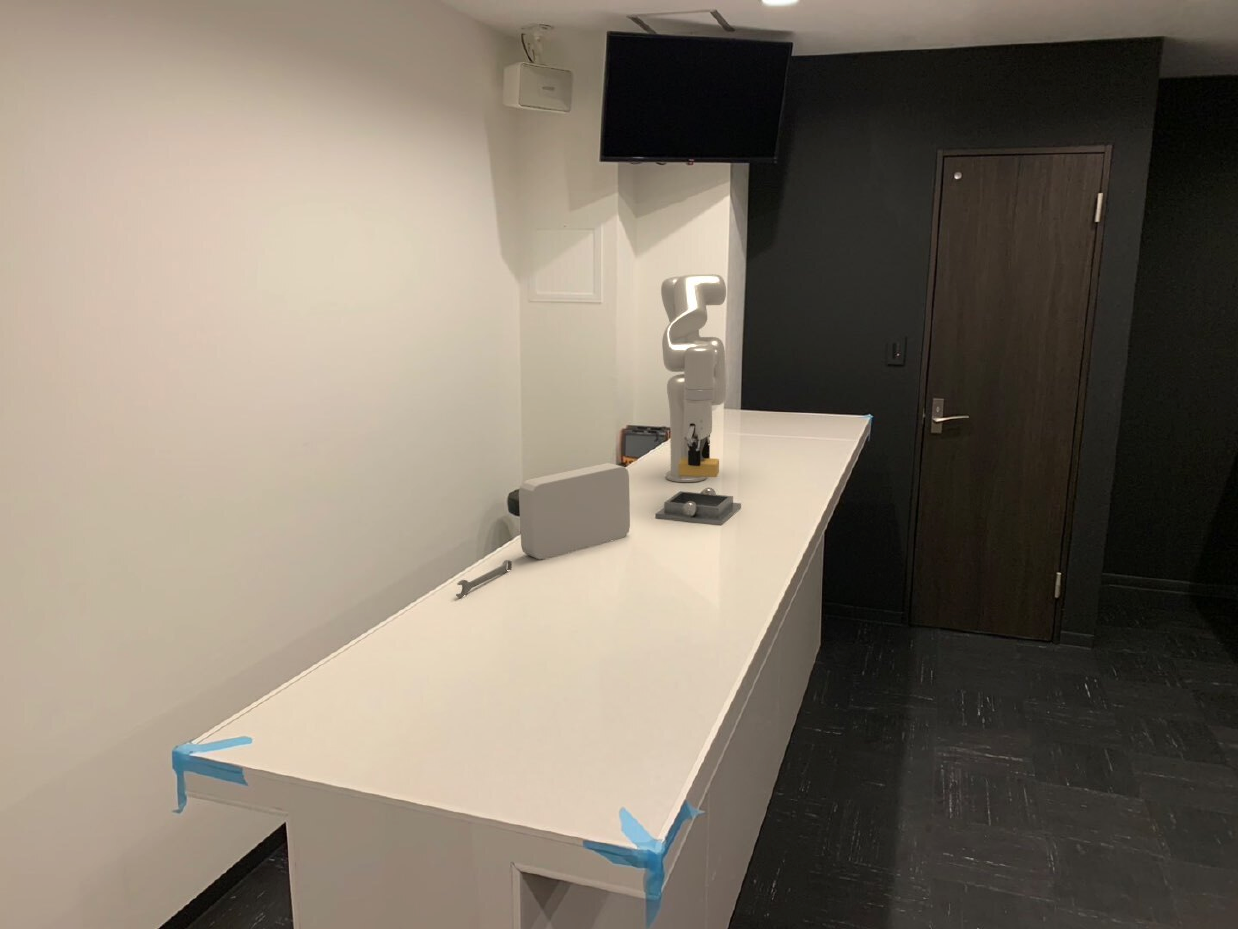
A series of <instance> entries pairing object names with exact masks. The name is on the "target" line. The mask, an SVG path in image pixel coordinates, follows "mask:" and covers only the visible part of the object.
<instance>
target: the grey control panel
mask: <svg viewBox="0 0 1238 929" xmlns="http://www.w3.org/2000/svg"><path fill="white" fill-rule="evenodd" d="M518 505H519V528H520V544H521V545H520V547H521V550H522V552H523V553H525V555H528V556H529V557H531V558H534V559H536V560H541V559H544V560H546V559H545V558H548V559H551V558H554V556H555V557H558V556H562V555H564V553H566V554H568V552H569V553H572V551H573V552H575V551H576V550H577V551H581V550H583V548H584V549H587V547H588V548H591V547H594V546H598V545H601V544H606V543H609V542H612V541H611V540H613V541H617V540H619V539H623V538H625V537H626V536H627V535H628V534H629V532H630V528H631V516H630V514H631V512H630V508H631V506H630V505H631V504H630V474H629V470H628V469H627V468H626V467H625V466H622V465H618V464H614V463H610V462H606V463H603V464H602V463H600V464H596V465H591V466H587V467H582V468H578V469H573V470H568V471H564V472H558V473H553V474H549V475H543V476H540V477H535V478H530V479H527V480H525V481H522V483H521V485H520V486H519V489H518ZM590 546H591V547H590ZM561 554H562V555H561ZM557 555H558V556H557Z"/></svg>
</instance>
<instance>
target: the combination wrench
mask: <svg viewBox="0 0 1238 929" xmlns="http://www.w3.org/2000/svg"><path fill="white" fill-rule="evenodd" d="M512 568H513V563H512V561H511V560H510V559H505V560H503V562H502V564H501V565H500V566H498V567H496V568H495V569H492V570H490V571H488V572H487V573H484V574H482V575H480V576H478V577H476V578H475V579H473V580H471V581H468V580H466V579H461V580H460V581H458V582H457V584H456V585H457V586H461V591H460V593H456V594H455V596H456V597H457V598H459V597H460V598H459V599H462V598H461V597H463V596H464V595H466V596H467V595H468V594H469V592H471V590H472V589H474V588H475V587H477V586H479V585H482V584H484V583H485V582H487V581H490V580H491V579H494V578H495V577H498V576H499V575H502V574H504V573H506V572H508V571H507V570H511V571H512ZM508 573H509V572H508ZM463 598H464V597H463Z"/></svg>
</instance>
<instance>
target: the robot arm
mask: <svg viewBox="0 0 1238 929" xmlns="http://www.w3.org/2000/svg"><path fill="white" fill-rule="evenodd" d="M660 290H661V291H660V294H661V299H662V304H663V307H664V310H665V313H666V316H667V318H668V320H669V321H668V322H669V323H668V325H667V326H666V328H665V330H664V332H663V335H662V339H661V340H662V341H661V343H662V344H661V347H662V359H663V365H664V367H665V369H666V370H668V371H669V372H672V373H678V374H675V375H673V376H671V377H670V378H669V379H668V381H667V383H666V384H667V385H666V392H667V399H668V404H669V421H670V422H669V427H670V430H669V431H670V433H669V434H670V435H669V436H670V438H669V439H670V444H669V445H670V471H667V472H666V473H665V478H666V480H668V481H672V482H677V483H697V482H702V481H705V480H706V479H707V478H708V477H695V476H679V462H680V460H681V459H682V458H688V465H690V466H700V451H699V447H700V440H702V439H704V438H705V437H706V441H705V444H704V447H703V449H702V457H703V458H710V459H711V456H710V455H711V454H710V453H711V452H710V450H711V449H710V448H711V440H710V437H711V435H712V432H713V408H712V406H720V405H722V404H724V402H725V400H726V399H727V398H726V397H727V375H726V374H727V373H726V350H725V346H724V342H723V341H722V340H721V338H719V337H716V336H715V337H714V336H700V330H701V329H702V328H703V327H705V325H706V323H707V321H708V312H707V306H721V305H723V304H724V302H725V301H726V297H727V286H726V282H725V280H724V278H723V276H721V275H719V274H713V273H712V274H711V273H710V274H709V273H707V274H686V275H682V276H672V277H669V278H666V279H664V280H663V281H662V283H661V287H660ZM680 372H681V373H682V374H681V373H680ZM683 372H684V373H683ZM679 373H680V374H679ZM693 437H698V438H697V439H696V438H693ZM695 442H697V444H695Z"/></svg>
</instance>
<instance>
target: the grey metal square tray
mask: <svg viewBox="0 0 1238 929" xmlns="http://www.w3.org/2000/svg"><path fill="white" fill-rule="evenodd" d="M663 505H664V506H663V508H661V509H660V510H659V511H657V512H656V513H655V519H661V520H669V521H676V522H677V521H678V522H685V523H686V522H687V523H695V524H697V523H698V524H706V525H716V526H722V525H724V524H723V523H724V522H725V521H726V522H727V521H728V520H730V518H731V517H733V516H734V515H735V514H736V513H737V512H738V511H739V510H740V509H742V503H741V502H740V503H739V502H734V496H732V495H722V494H716V491H715V490H714V488H712V487H706V488H704V489H702V491H701V492H689V491H681V490H680V491H679V492H677V493H676V494H674V495H673V496H671V497H670V498H669V499H667V500H665V502H664V503H663ZM738 509H739V510H738ZM737 510H738V511H737ZM736 511H737V512H736ZM735 512H736V513H735ZM734 513H735V514H734ZM733 514H734V515H733ZM726 522H725V523H726Z"/></svg>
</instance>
